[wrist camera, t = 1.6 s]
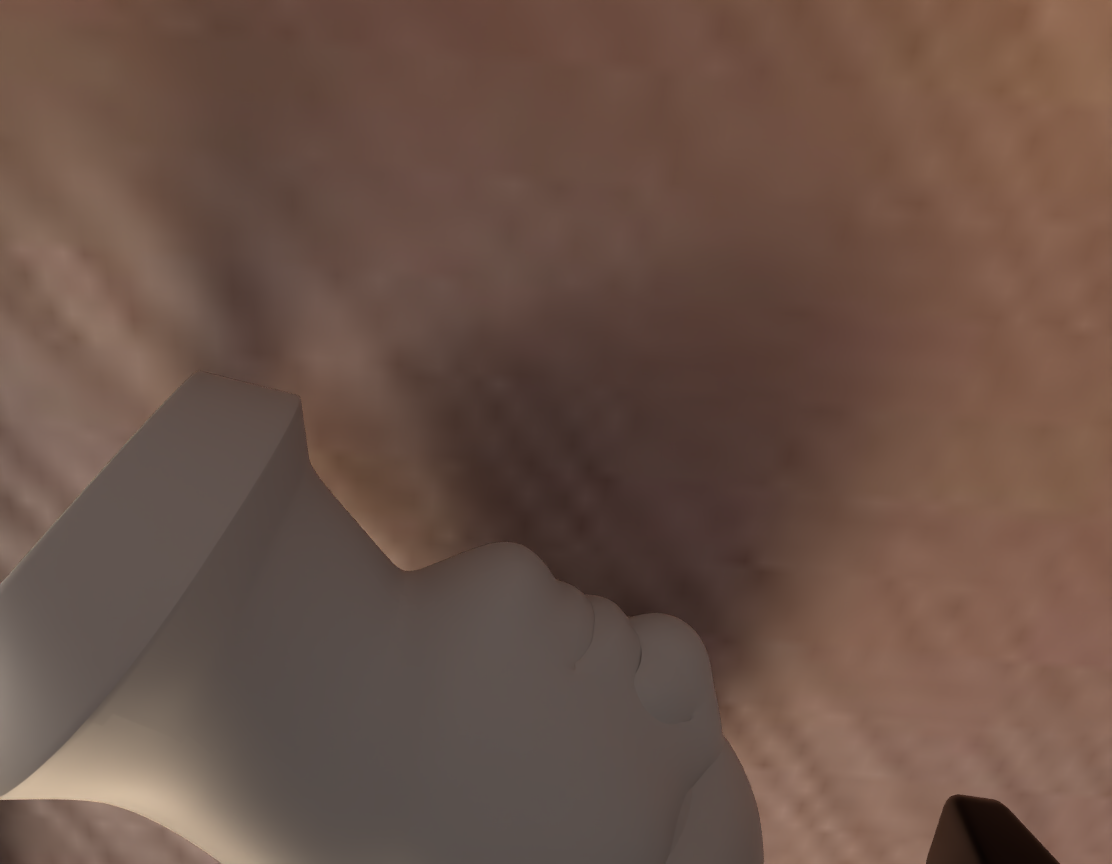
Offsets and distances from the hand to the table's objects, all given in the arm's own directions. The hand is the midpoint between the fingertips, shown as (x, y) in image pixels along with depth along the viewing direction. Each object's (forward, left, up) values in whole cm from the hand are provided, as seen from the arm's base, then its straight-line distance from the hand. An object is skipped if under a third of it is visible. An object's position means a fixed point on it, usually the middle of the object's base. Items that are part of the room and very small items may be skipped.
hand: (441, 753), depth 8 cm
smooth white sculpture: (0, 0, -2) cm, 2 cm away
